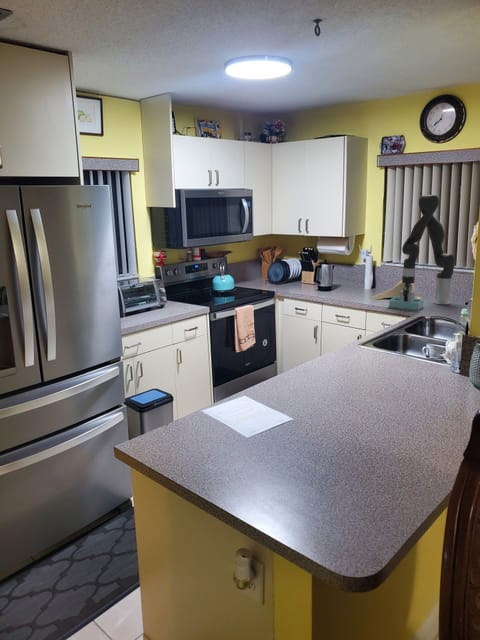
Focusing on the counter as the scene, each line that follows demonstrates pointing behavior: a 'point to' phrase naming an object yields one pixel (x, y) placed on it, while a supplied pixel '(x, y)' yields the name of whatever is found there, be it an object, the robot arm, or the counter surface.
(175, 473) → the counter surface
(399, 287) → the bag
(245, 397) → the counter surface
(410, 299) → the medicine box
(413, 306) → the tote
